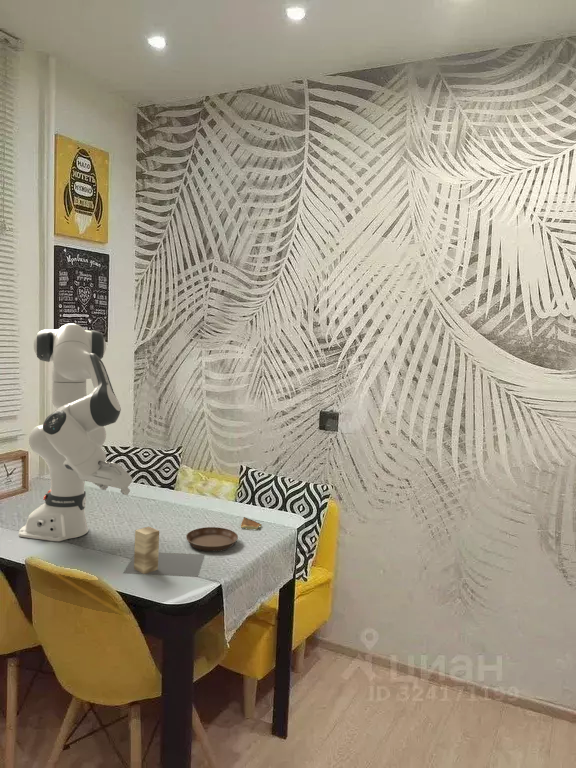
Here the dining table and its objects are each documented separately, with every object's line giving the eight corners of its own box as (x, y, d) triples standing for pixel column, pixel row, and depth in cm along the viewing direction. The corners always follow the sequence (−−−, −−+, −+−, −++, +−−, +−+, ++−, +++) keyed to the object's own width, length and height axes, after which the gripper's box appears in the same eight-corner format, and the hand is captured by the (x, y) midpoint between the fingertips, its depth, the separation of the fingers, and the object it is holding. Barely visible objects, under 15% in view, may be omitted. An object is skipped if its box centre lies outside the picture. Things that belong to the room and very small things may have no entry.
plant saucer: (215, 558, 195) (215, 549, 194) (174, 545, 204) (175, 536, 204) (247, 543, 209) (248, 535, 209) (208, 531, 219) (209, 523, 219)
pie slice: (243, 520, 234) (244, 516, 234) (263, 522, 233) (263, 517, 233) (239, 530, 223) (240, 525, 223) (260, 531, 223) (260, 527, 222)
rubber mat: (122, 576, 177) (122, 573, 177) (136, 554, 194) (136, 551, 194) (197, 579, 177) (197, 576, 177) (204, 557, 194) (204, 554, 194)
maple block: (144, 574, 177) (145, 534, 176) (133, 568, 180) (135, 530, 179) (157, 569, 181) (159, 530, 179) (147, 564, 184) (148, 526, 183)
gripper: (120, 455, 160) (147, 486, 168) (73, 446, 171) (100, 476, 180) (106, 473, 156) (134, 505, 164) (58, 464, 168) (87, 493, 176)
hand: (116, 490), depth 172 cm, fingers open, 8 cm apart
